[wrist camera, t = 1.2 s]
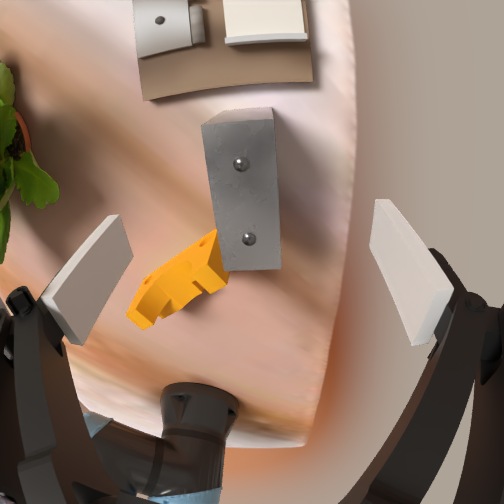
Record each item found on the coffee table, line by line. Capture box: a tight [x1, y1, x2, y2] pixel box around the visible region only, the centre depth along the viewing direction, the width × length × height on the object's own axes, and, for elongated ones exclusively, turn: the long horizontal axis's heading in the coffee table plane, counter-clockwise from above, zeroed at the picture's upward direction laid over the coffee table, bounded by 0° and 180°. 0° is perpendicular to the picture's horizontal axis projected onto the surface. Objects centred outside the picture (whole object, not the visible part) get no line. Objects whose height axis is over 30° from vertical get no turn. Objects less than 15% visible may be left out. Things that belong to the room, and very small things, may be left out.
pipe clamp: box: [125, 228, 230, 330], centre depth 29 cm, size 12×4×6 cm, turn 126°
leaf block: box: [201, 107, 282, 271], centre depth 21 cm, size 10×4×9 cm, turn 5°
